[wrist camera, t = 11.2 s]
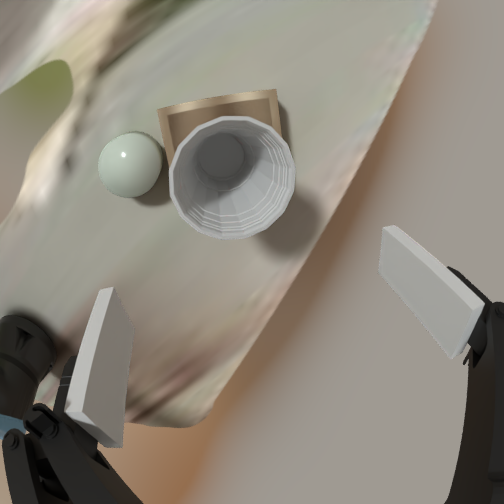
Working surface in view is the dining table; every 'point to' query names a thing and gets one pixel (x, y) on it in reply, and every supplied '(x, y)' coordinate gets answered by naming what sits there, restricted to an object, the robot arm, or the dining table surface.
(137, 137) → the pale green ball
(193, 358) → the dining table surface
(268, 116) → the maple open box
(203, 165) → the plastic cup
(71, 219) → the dining table surface
